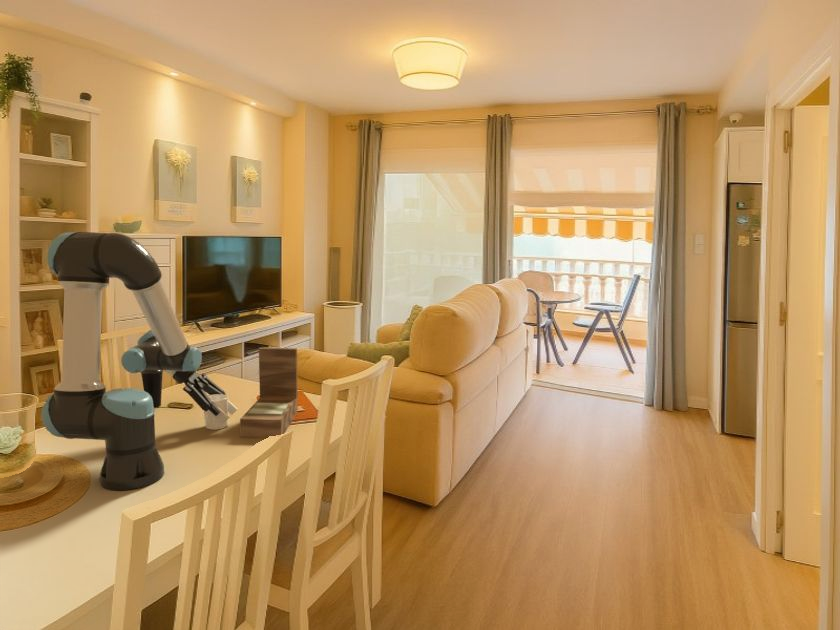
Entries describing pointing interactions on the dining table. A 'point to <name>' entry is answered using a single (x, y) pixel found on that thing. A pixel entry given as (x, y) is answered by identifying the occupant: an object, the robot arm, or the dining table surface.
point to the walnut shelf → (273, 394)
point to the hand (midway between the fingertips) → (230, 416)
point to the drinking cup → (153, 385)
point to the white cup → (210, 418)
